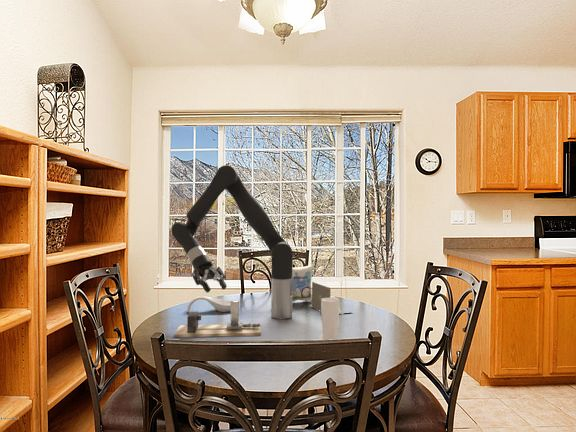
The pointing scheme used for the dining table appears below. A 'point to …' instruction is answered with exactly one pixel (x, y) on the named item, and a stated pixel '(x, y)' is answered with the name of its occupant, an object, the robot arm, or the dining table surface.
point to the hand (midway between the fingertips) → (217, 289)
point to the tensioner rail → (211, 329)
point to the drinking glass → (330, 317)
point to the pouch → (301, 283)
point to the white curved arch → (213, 303)
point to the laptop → (319, 295)
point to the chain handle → (237, 318)
